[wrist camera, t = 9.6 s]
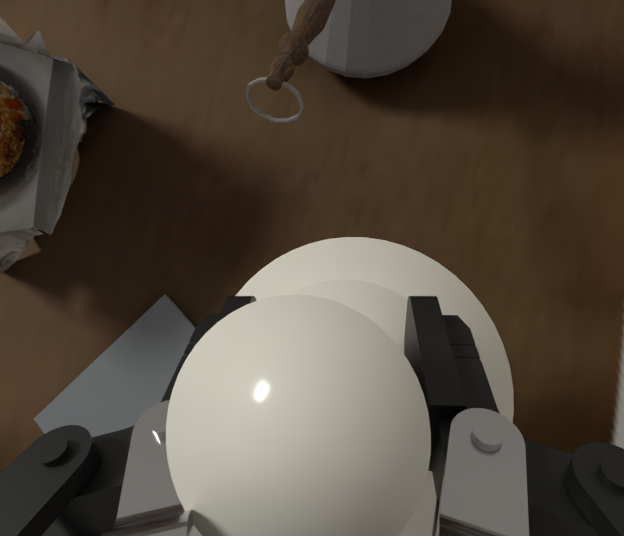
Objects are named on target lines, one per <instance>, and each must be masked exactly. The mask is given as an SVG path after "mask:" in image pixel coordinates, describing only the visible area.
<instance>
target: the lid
mask: <svg viewBox="0 0 624 536" xmlns="http://www.w3.org/2000/svg"><path fill="white" fill-rule="evenodd" d="M236 296H255V298H256V301H255V302H253V303H250V304H247V305H245V306H243V307H241V308H239V309H237V310H235V311H233V312H232V313H230V314H229V315H227V316H226V317H224V318H223V319H222V320H220V321H219V322H217V323H216V324H215V325H214V326H213V327H212V328H211V329H210V330H209V331H208V332H206V333H205V335H204V336H203V337H202V338H201V339H200V340H199V342H198V343H197V344H196V345H195V347H194V348H193V349H192V351H191V352H190V354H189V355H188V357H187V358H186V360H185V362H184V364H183V366H182V368H181V370H180V372H179V374H178V376H177V379H176V382H175V385H174V387H173V390H172V394H171V398H170V402H169V406H168V413H167V421H166V450H167V460H168V465H169V469H170V474H171V478H172V481H173V484H174V487H175V490H176V493H177V495H178V498H179V500H180V502H181V504H182V506H183V508H184V510H185V511H188V510H192V516H193V524H194V526H195V527H196V529H197V530H198V531H199V532H200V533H201V535H202V536H431V534H432V526H433V519H434V511H435V504H436V497H437V496H436V492H435V486H434V479H433V473H432V471H428V469H429V462H430V455H431V430H430V422H429V413H428V409H427V405H426V401H425V397H424V394H423V391H422V389H421V386H420V383H419V381H418V378H417V376H416V374H415V372H414V370H413V368H412V367H411V365H410V363H409V361H408V359H407V358H406V356H405V355H404V336H405V324H406V312H407V301H408V296H437V298H438V301H439V305H440V309H441V312H442V315H458V316H459V317H460V318H461V319H462V320H463V322H464V323H465V324H466V325H467V326H468V327H469V328H470V329H471V332H472V335H473V338H474V341H475V346H476V347H477V350H478V353H479V356H480V360H481V361H482V364H483V367H484V370H485V373H486V376H487V379H488V382H489V385H490V388H491V391H492V393H493V396H494V399H495V402H496V405H497V408H498V410H499V413H500V414H501V415H503V416H504V417H506V418H507V419H509V420H510V421H511V422H512V423H513V414H514V398H513V384H512V377H511V371H510V365H509V362H508V359H507V356H506V352H505V349H504V346H503V343H502V341H501V339H500V336H499V334H498V332H497V330H496V327H495V325H494V323H493V322H492V320H491V319H490V317H489V315H488V314H487V312H486V310H485V309H484V307H483V306H482V304H481V303H480V302H479V301H478V299H477V298H476V297H475V296H474V294H473V293H472V292H471V291H470V289H469V288H467V287H466V286H465V285H464V284H463V283H462V282H461V281H460V280H459V279H458V278H457V277H456V276H455V275H454V274H453V273H451V272H450V271H449V270H447V269H446V268H444V267H443V266H442V265H440V264H439V263H438V262H436V261H434V260H432V259H431V258H429V257H427V256H425V255H424V254H422V253H420V252H418V251H415V250H413V249H410V248H408V247H405V246H403V245H400V244H396V243H392V242H389V241H385V240H379V239H372V238H365V237H343V238H334V239H327V240H322V241H318V242H314V243H310V244H307V245H305V246H302V247H299V248H297V249H294V250H292V251H290V252H288V253H286V254H284V255H282V256H280V257H279V258H277V259H275V260H274V261H272V262H271V263H269V264H268V265H267V266H265V267H264V268H262V269H261V270H260V271H259V272H258V273H257V274H255V275H254V276H253V277H252V278H251V279H250V280H249V281H248V282H247V283H246V284H245V285H244V286H243V288H242V289H241V290H240V291H239V292H238V293H237V295H236Z"/></svg>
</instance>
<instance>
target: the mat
mask: <svg viewBox="0 0 624 536" xmlns="http://www.w3.org/2000/svg"><path fill="white" fill-rule="evenodd" d="M195 328H196V327H195V326H194V325H193V324H192V322H191V321H190V320H189V319H188V318H187V317H186V316H185V315H184V313H183V312H182V311H181V310H180V309H179V308H178V307H177V305H176V304H175V303H174V302H173V301H172V300H171V299H170V298H169V296H168V295H166V294H164V295H163V296H162V297H161V298H160V299H159V300H158V301H157V302H156V303H155V304H154V305H153V306H152V307H151V308H149V309H148V310H147V311H146V312H145V313H144V314H143V315H142V316H141V317H140V318H139V319H138V320H137V321H136V322H135V323H134V324H133V325H132V326H131V327H130V328H128V329H127V330H126V331H125V332H124V333H123V334H122V335H121V336H120V337H119V338H118V339H117V340H116V341H115V342H114V343H113V344H112V345H111V346H110V347H109V348H107V349H106V350H105V351H104V352H103V353H102V354H101V355H100V356H99V357H98V358H97V359H96V360H95V361H94V362H93V363H92V364H91V365H90V366H89V367H88V368H86V369H85V370H84V371H83V372H82V373H81V374H80V375H79V376H78V377H77V378H76V379H75V380H74V381H73V382H72V383H71V384H70V385H69V386H68V387H67V388H65V389H64V390H63V391H62V392H61V393H60V394H59V395H58V396H57V397H56V398H55V399H54V400H53V401H52V402H51V403H50V404H49V405H48V406H47V407H45V408H44V409H43V410H42V411H41V412H40V413H39V414H38V415H37V416H36V417H35V418H34V420H35V421H36V423H37V424H38V426H39V427H40V428H41V430H42V431H43V432H44V434H46V433H47V432H49V431H51V430H53V429H56V428H59V427H62V426H66V425H79V426H82V427H84V428H86V429H87V430H88V431H89V433H90V434H91V436H92V437H95V436H99V435H103V434H107V433H111V432H115V431H119V430H122V429H126V428H129V427H131V426H133V425H135V424H136V422H137V421H138V419H139V418H140V417H141V416H142V414H143V413H145V412H146V411H147V410H148V409H150V408H151V407H152V406H154V405H156V404H158V403H160V402H161V400H162V398H163V396H164V394H165V392H166V390H167V388H168V385H169V383H170V381H171V379H172V377H173V375H174V373H175V370H176V368H177V366H178V364H179V362H180V360H181V358H182V356H184V351H185V349H186V347H187V345H188V344H189V342H190V341H189V340H190V338H191V336H192V334H193V332H194V330H195Z"/></svg>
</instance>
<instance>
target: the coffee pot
mask: <svg viewBox="0 0 624 536" xmlns="http://www.w3.org/2000/svg"><path fill="white" fill-rule="evenodd" d="M451 3H452V0H285V7H286V16H287V23H288V25H289V27H290V30H291V32H289V33H286V34H284V35H283V36H282V37H281V39H280V40H279V42H278V51H279V54H280V55H278V56H276V57H275V58H274V59H273V61H272V62H271V65H270V68H269V71H268V77H260V78H258V79H256V80H254V81H252V82H250V83H249V84H248V86H247V91H246V99H247V101H248V103H249V105H250V107H251V108H252V109H253V110H254V111H255V112H256V113H258V114H259V115H260V116H261V117H263V118H266V119H268V120H270V121H272V122H275V123H287V122H291V121H293V120H295V119H297V118H299V117H300V115H301V112H302V110H303V107H304V103H303V100H302V97H301V94H300V92H298V91H297V90H296V89H295V88H294V87H293V86H291V85H290V84H289V83H287V81H288V80H289V79H290V78H291V77H292V75H293V74H294V69H295V65H301V64H303V63H304V62H305V61H306V60H307V58H308V56H309V57H310V58H311V59H312V60H313V61H314V62H316V63H317V64H319V65H320V66H322V67H324V68H325V69H327V70H328V71H331V72H334V73H337V74H340V75H343V76H346V77H355V78H373V77H379V76H385V75H389V74H391V73H394V72H396V71H398V70H401V69H403V68H406V67H407V66H408V65H410V64H411V63H413V62H414V61H415V60H417V59H418V58H419V57H421V56H422V55H423V54H424V53H425V52H427V51H428V50H429V48H430V47H431V46H432V45H433V43H434V42H435V41H436V40H437V38H438V37H439V36H440V35H441V33H442V32H443V29H444V27H445V25H446V22H447V20H448V17H449V15H450V12H451ZM259 82H266V83H267V86H268V87H269V88H270V89H271V90H274V91H277V90H279V89H280V88H281V87H282V86H283V87H285V88H287V89H288V90H290V91H291V92H292V93H293V94H294V95H296V96H297V99H298V102H299V105H300V110H299V113H298V114H297V115H294V116H292V117H290V118H275V117H273V116H270V115H268V114H266V113H264V112H263V111H261V110H260V109H259V108H258V107H257V106H255V105H254V104H253V101H252V99H251V97H250V95H249V93H250V89H251V86H253V85H255V84H257V83H259Z"/></svg>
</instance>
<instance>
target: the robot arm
mask: <svg viewBox="0 0 624 536" xmlns="http://www.w3.org/2000/svg"><path fill="white" fill-rule="evenodd" d="M255 301H256V298H255V296H228V297H227V298H226V300H225V302H224V305H223V307H222V310H221V312H220V314H208V315H207V316H206V317H205V318H204V319H203V320H202V321H201V322H200V323H199V324H198V325H197V326H196V328H195V330H194V332H193V334H192V336H191V338H190V340H189V341H190V342H189V344H188V345H187V347H186V349H185V351H184V356H182V358H181V360H180V362H179V364H178V366H177V368H176V370H175V373H174V375H173V377H172V379H171V381H170V383H169V385H168V388H167V390H166V392H165V394H164V396H163V398H162V400H161V402H160V403H158V404H156V405H154V406H152V407H151V408H150V409H148V410H147V411H146V412H145V413H143V414H142V416H141V417H140V418H139V419H138V421H137V422H136V424H135V425H133V426H131V427H129V428H126V429H122V430H119V431H115V432H111V433H107V434H103V435H99V436H95V437H92V436H91V434H90V433H89V431H88V430H87V429H86V428H84V427H82V426H79V425H66V426H62V427H59V428H56V429H53V430H51V431H49V432H47V433H46V434H44V435H42V436H41V437H39V438H38V439H37V440H36V441H34V442H33V443H32V444H31V445H30V446H29V447H28V448H27V449H26V450H25V451H24V452H23V453H22V454H21V455H20V456H19V457H17V458H16V459H15V460H14V461H13V462H12V463H11V464H10V465H9V466H8V467H7V468H6V469H5V470H4V471H3V472H2V473H1V474H0V536H202V535H201V533H200V532H199V531H198V530H197V529H196V527H195V526H194V524H193V516H192V510H188V511H185V510H184V508H183V506H182V504H181V502H180V500H179V498H178V495H177V493H176V490H175V487H174V484H173V481H172V478H171V474H170V469H169V465H168V460H167V450H166V421H167V413H168V406H169V402H170V398H171V394H172V390H173V387H174V385H175V382H176V379H177V376H178V374H179V372H180V370H181V368H182V366H183V364H184V362H185V360H186V358H187V357H188V355H189V354H190V352H191V351H192V349H193V348H194V347H195V345H196V344H197V343H198V342H199V340H200V339H201V338H202V337H203V336H204V335H205V333H206V332H208V331H209V330H210V329H211V328H212V327H213V326H214V325H215V324H216V323H217V322H219V321H220V320H222V319H223V318H224V317H226V316H227V315H229V314H230V313H232V312H233V311H235V310H237V309H239V308H241V307H243V306H245V305H247V304H250V303H253V302H255ZM404 355H405V356H406V358H407V359H408V361H409V363H410V365H411V367H412V368H413V370H414V372H415V374H416V376H417V378H418V381H419V383H420V386H421V389H422V391H423V394H424V397H425V401H426V405H427V409H428V413H429V422H430V430H431V455H430V462H429V469H428V471H432V473H433V479H434V486H435V492H436V496H437V497H436V504H435V511H434V519H433V526H432V534H431V536H624V449H622V448H620V447H617V446H615V445H611V444H608V443H601V442H592V443H586V444H584V445H582V446H580V447H579V448H578V449H577V450H576V451H575V453H574V455H573V454H570V453H567V452H564V451H560V450H557V449H554V448H551V447H548V446H544V445H541V444H538V443H536V442H533V441H531V440H529V439H527V438H525V437H523V436H522V434H521V433H520V431H519V430H518V428H517V427H516V426H515V425H514V424H513V423H512V422H511V421H510V420H509V419H507V418H506V417H504V416H503V415H501V414H500V413H499V410H498V408H497V405H496V402H495V399H494V396H493V393H492V391H491V388H490V385H489V382H488V379H487V376H486V373H485V370H484V367H483V364H482V361H481V360H480V356H479V353H478V350H477V347H476V346H475V341H474V338H473V335H472V332H471V329H470V328H469V327H468V326H467V325H466V324H465V323H464V322H463V320H462V319H461V318H460V317H459V316H458V315H442V312H441V309H440V305H439V301H438V298H437V296H408V301H407V312H406V324H405V336H404ZM50 525H51V526H50ZM49 526H50V527H49ZM48 527H49V528H48ZM44 532H45V533H44ZM43 533H44V534H43Z"/></svg>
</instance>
